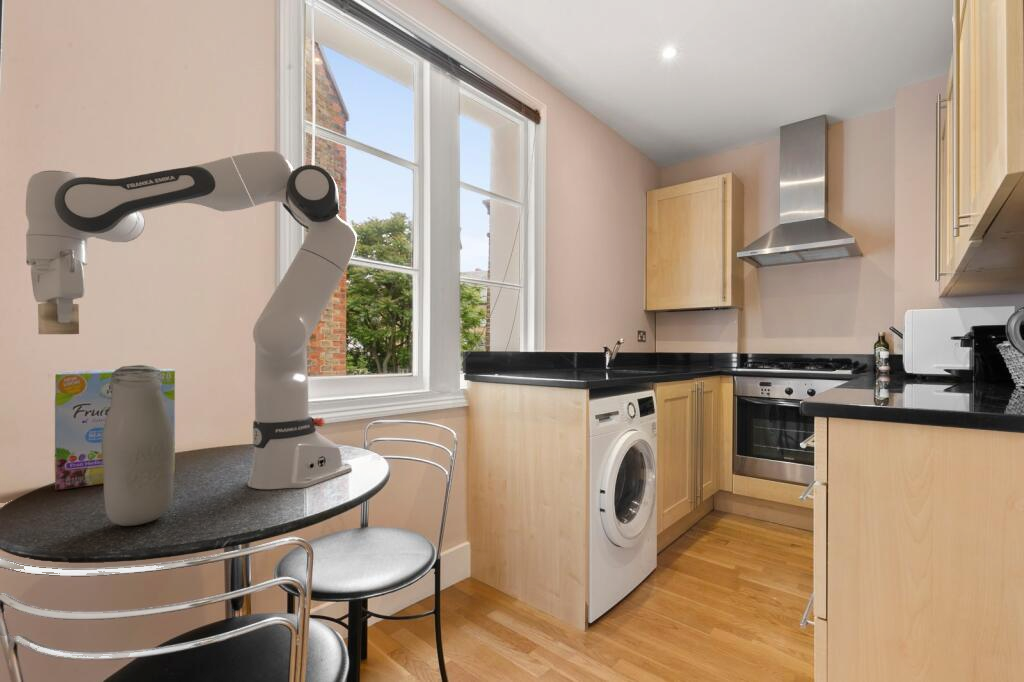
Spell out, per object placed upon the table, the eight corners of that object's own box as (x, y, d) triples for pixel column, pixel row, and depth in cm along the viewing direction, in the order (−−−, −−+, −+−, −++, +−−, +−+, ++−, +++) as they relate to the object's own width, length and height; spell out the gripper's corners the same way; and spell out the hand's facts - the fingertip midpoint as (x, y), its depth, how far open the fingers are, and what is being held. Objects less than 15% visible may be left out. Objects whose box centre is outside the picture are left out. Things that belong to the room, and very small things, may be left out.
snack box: (53, 492, 102) (52, 373, 102) (58, 483, 109) (56, 371, 109) (177, 474, 116) (175, 368, 116) (174, 466, 123) (173, 367, 122)
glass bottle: (160, 508, 91) (158, 363, 91) (183, 519, 86) (181, 364, 85) (94, 525, 83) (91, 366, 83) (114, 539, 77) (112, 367, 77)
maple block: (72, 334, 99) (71, 305, 99) (79, 333, 96) (78, 304, 96) (38, 334, 94) (37, 304, 94) (44, 333, 92) (44, 302, 92)
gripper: (94, 250, 92) (95, 321, 92) (65, 261, 103) (66, 324, 104) (49, 245, 86) (51, 321, 87) (24, 257, 98) (25, 324, 98)
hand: (59, 323), depth 95 cm, fingers closed on maple block, 5 cm apart
